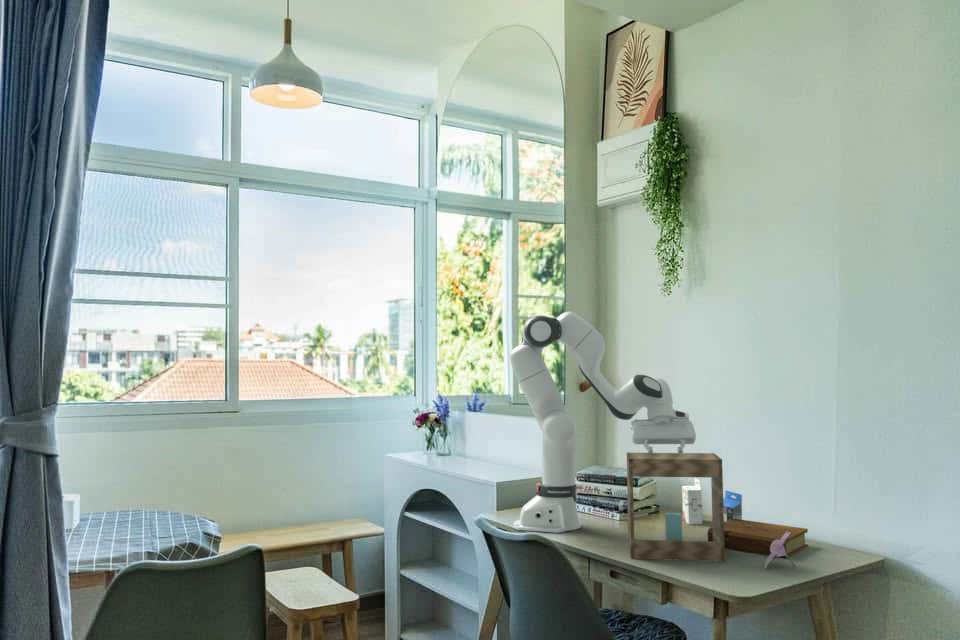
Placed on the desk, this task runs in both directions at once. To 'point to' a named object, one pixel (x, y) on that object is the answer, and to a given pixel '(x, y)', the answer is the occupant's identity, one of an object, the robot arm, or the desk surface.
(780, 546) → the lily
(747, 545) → the diary
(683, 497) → the ink cartridge box
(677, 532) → the teal block
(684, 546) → the walnut cubby
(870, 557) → the desk surface
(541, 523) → the robot arm
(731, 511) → the label tape cartridge
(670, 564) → the desk surface
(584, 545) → the desk surface
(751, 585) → the desk surface
